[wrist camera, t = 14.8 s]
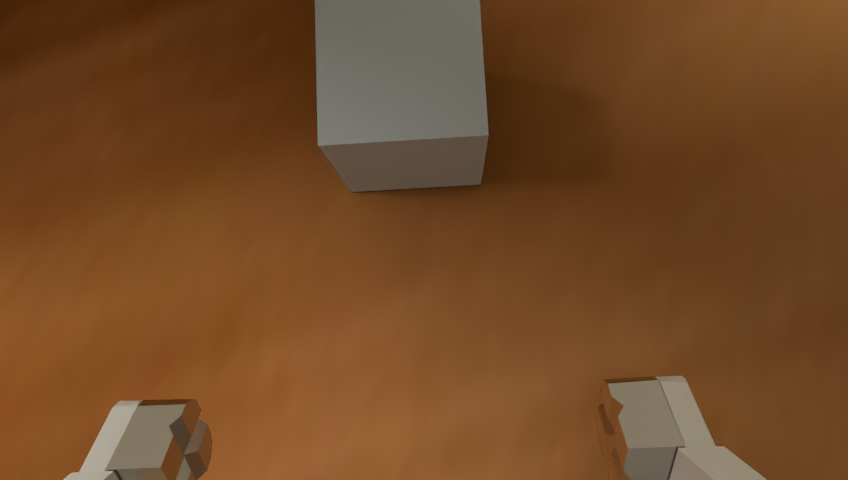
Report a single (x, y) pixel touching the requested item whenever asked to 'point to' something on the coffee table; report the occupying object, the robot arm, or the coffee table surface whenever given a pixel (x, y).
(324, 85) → the slate cover
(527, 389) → the coffee table surface
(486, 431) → the coffee table surface
